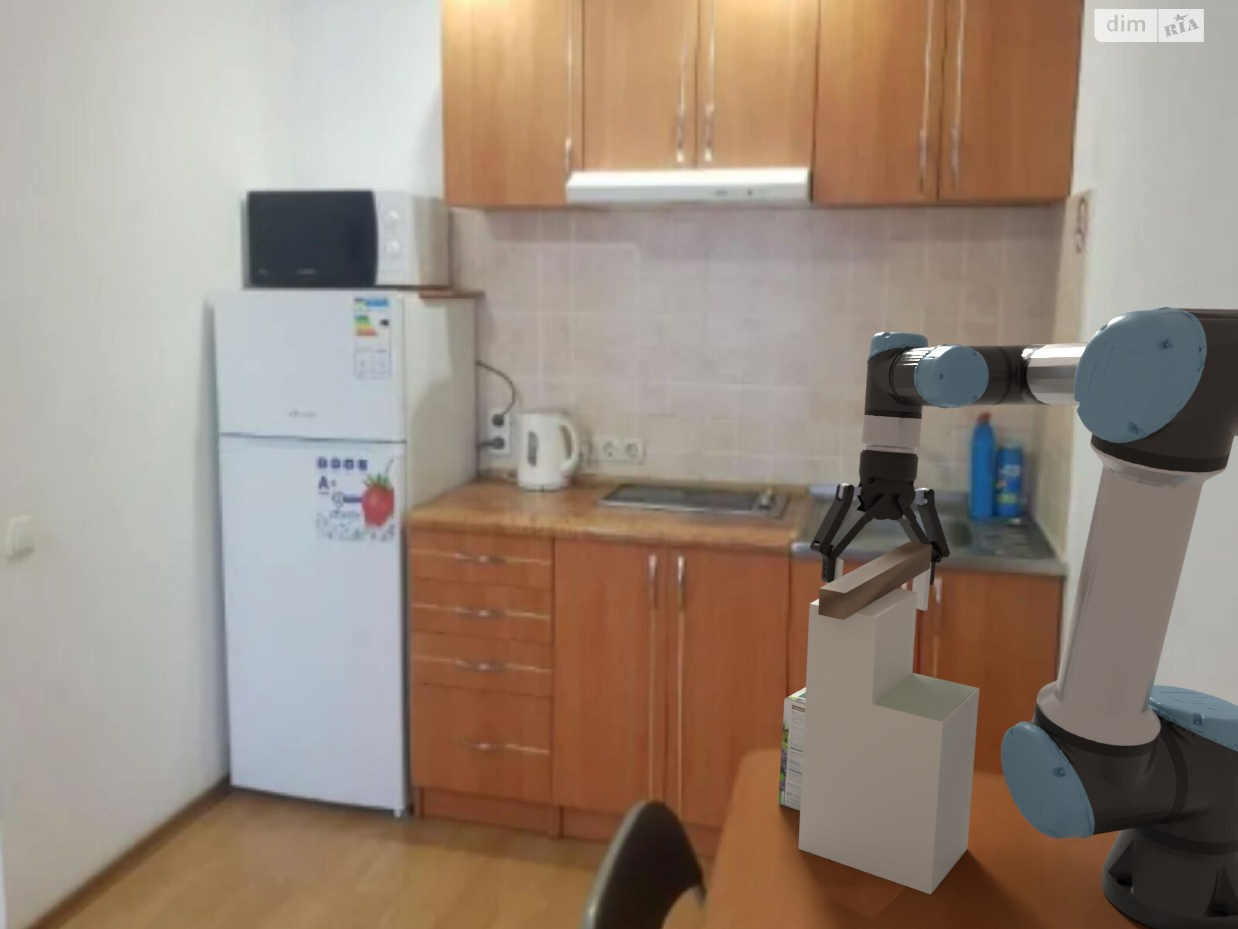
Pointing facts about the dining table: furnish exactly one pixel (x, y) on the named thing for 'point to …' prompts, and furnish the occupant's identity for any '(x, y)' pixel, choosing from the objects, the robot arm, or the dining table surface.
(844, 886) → the dining table surface
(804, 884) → the dining table surface
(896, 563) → the walnut bar
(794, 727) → the syrup box
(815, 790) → the step stand
